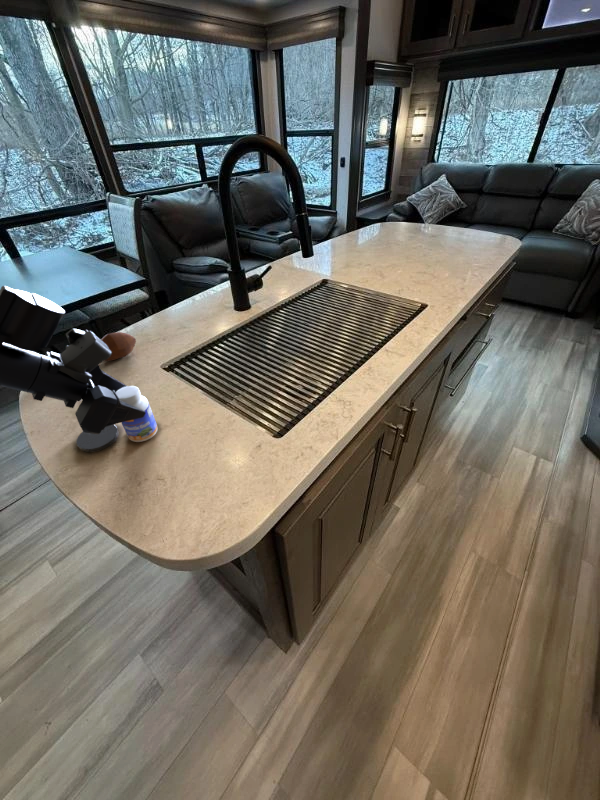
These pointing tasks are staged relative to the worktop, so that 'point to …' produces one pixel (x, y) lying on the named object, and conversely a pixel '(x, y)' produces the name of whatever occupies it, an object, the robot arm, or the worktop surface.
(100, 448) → the coaster
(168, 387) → the worktop surface
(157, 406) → the worktop surface
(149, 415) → the pill bottle
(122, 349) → the potato
